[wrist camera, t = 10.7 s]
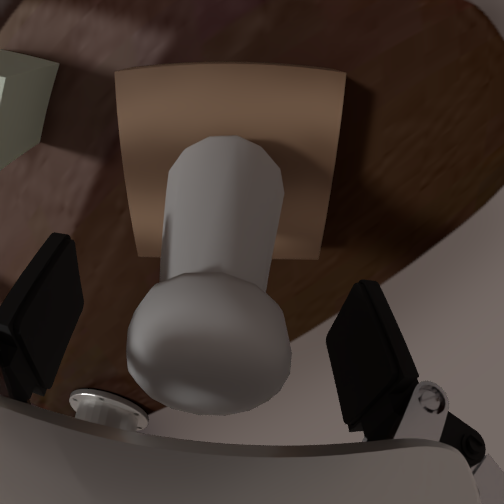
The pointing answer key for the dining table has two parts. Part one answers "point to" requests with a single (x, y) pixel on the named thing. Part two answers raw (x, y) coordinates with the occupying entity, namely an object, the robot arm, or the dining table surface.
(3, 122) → the sage cube
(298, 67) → the light wood flat block
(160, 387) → the salt shaker
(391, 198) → the dining table surface
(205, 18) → the dining table surface
